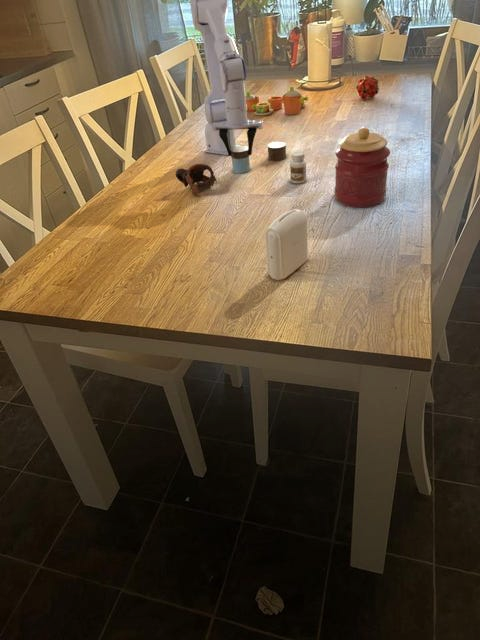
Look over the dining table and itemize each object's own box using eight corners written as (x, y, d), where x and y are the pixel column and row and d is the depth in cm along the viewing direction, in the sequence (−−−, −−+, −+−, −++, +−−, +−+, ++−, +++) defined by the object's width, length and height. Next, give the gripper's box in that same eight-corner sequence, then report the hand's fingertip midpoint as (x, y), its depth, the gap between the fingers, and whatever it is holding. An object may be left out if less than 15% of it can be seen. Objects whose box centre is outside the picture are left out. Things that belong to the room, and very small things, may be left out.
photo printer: (282, 283, 100) (279, 227, 92) (265, 276, 102) (261, 222, 95) (310, 260, 106) (310, 206, 98) (294, 255, 108) (292, 202, 101)
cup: (230, 172, 150) (228, 157, 147) (239, 166, 153) (237, 151, 151) (244, 174, 148) (242, 159, 145) (253, 168, 151) (252, 153, 148)
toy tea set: (308, 103, 201) (308, 78, 195) (307, 115, 189) (306, 87, 183) (245, 107, 206) (243, 82, 200) (239, 118, 194) (237, 91, 188)
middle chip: (264, 153, 155) (264, 146, 153) (273, 147, 158) (273, 141, 157) (280, 155, 152) (280, 148, 151) (289, 149, 155) (288, 142, 154)
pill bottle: (288, 183, 139) (288, 156, 135) (292, 177, 142) (292, 150, 138) (304, 184, 138) (303, 156, 133) (307, 178, 141) (307, 151, 136)
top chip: (227, 157, 147) (226, 150, 146) (237, 151, 151) (237, 144, 150) (243, 159, 145) (242, 153, 143) (253, 153, 148) (252, 146, 147)
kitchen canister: (355, 213, 121) (359, 140, 110) (324, 195, 131) (325, 127, 120) (396, 199, 125) (404, 127, 115) (363, 183, 135) (368, 116, 124)
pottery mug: (219, 183, 145) (220, 164, 138) (210, 208, 142) (210, 190, 134) (180, 173, 146) (178, 153, 138) (170, 198, 142) (168, 180, 134)
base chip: (265, 159, 156) (264, 153, 155) (274, 153, 159) (273, 147, 158) (280, 161, 153) (280, 155, 152) (289, 155, 157) (289, 149, 155)
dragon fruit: (370, 97, 206) (366, 110, 199) (354, 85, 205) (349, 97, 197) (384, 80, 200) (380, 92, 192) (367, 67, 198) (362, 79, 191)
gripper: (207, 111, 137) (213, 159, 146) (259, 108, 135) (262, 158, 143) (212, 104, 143) (218, 151, 151) (262, 101, 140) (265, 149, 149)
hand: (240, 154), depth 147 cm, fingers closed on top chip, 5 cm apart
